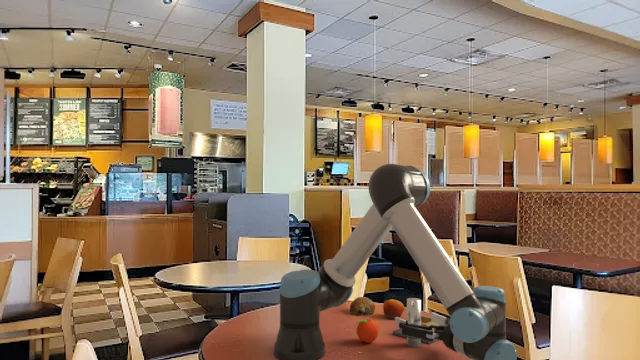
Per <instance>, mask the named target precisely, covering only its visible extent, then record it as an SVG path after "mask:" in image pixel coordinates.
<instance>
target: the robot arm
mask: <svg viewBox="0 0 640 360" xmlns="http://www.w3.org/2000/svg"><path fill="white" fill-rule="evenodd" d="M367 187H368V194H369V198H370V200H371V202H372V203H373V204H372V205H371V206H370V207H369V209H368V210H367V211H366V213H365V215H364V216H363V217H362V218H361V220H360V221H359V222H358V224H357V225H356V226H355V228H354V230H352V232H351V233H350V235H349V236H348V238H347V239H346V240H345V241H344V243H343V244H342V246H341V247H340V249H339V250H338V251H337V253H336V254H335V256H334V257H332V258H330V259H329V258H328V259H326V260H325V261H324V262H323V263H322V264H321V266H320V268H318V271H316V270H313V269H300V270H294V271H290V272H288V273H285V274H284V275H283V276H282V277H281V280H280V287H279V300H280V301H279V329H278V332H277V335H276V338H275V339H276V340H275V342H274V345H273V356H274V357H275V358H277V359H279V360H319V359H321V358H323V357H324V356H325V354H326V344H325V342H324V338H323V333H322V331H321V328H320V327H321V325H320V319H321V318H320V312H323V311H326V310H328V309H332V308H336V307H339V306H341V305H343V304H345V303H346V302H347V301H348V300H349V299H350V298H351V296H352V295H353V292H354V288H353V287H354V286H355V284H356V275H357V274H358V272H359V271H360V270H361V268H362V267H363V266H364V264H365V263H366V262H367V261H368V260H369V258H370V257H371V256H372V254H374V252H375V250H376V249H377V248H378V246H379V245H380V244H381V242H382V241H383V240H384V239H385V238H386V236H387V235H388V234H389V232H390V231H391V229H392V228H393V230H394V231H395V232H396V234H397V236H398V237H399V239H400V240H401V242H402V244H403V245H404V246H405V249H407V251H408V253H409V254H410V256H411V258H412V259H413V261H414V262H415V264H416V265H417V267H418V268H419V270H420V272H421V273H422V275H423V276H424V278H425V279H426V282H428V284H429V285H430V287H431V288H432V290H433V291H434V293H435V294H436V296H437V298H438V300H439V301H440V302H441V304H442V306H443V307H444V308H445V310H446V312H447V313H448V315H449V317H446V316H444V315H440V314H439V313H435V312H430V317H431V321H432V322H434V323H437V324H439V326H436V325H430V326H423V325H415V324H410V322H408V321H406V320H404V319H403V318H401V317H395V319H394V322H395V325H394V326H395V327H397V329H402V334H403V335H408V336H412V337H417V338H421V339H425V340H428V341H431V342H432V341H433V338H434V339H438V341H442V342H443V344H444V346H445V347H446V348H447V349H449V350H451V351H453V352H455V353H458V354H460V355H462V356H464V357H467V358H468V359H469V360H517V358H518V351H517V350H516V347H515V345H514V344H513V343H512V342H511V341H509V340H508V339H507V331H506V330H507V329H506V327H507V325H506V324H507V323H506V322H507V321H506V318H507V315H506V314H507V311H506V310H507V309H506V307H507V302H506V293H505V290H504V289H503V288H500V287H498V286H497V287H496V286H492V285H491V286H490V285H481V286H480V285H479V286H475V287H474V289H473V290H472V288H471V287H470V285H469V284H468V282H467V280H466V279H465V278H464V276H463V275H462V273H461V272H460V271H459V269H458V268H457V266H456V265H455V264H454V262H453V260H452V259H451V258H450V256H449V254H448V253H447V251H446V250H445V248H444V247H443V246H442V244H441V242H439V239H438V238H437V237H436V235H435V233H433V231H432V229H431V228H430V227H429V224H427V221H426V220H425V219H424V218H423V216H422V215H421V213H420V212H419V210H418V209H417V207H419V206H421V205H423V204H424V203H425V202H426V201H427V200H428V199H429V197H430V194H431V183H430V180H429V177H428V175H427V174H426V173H425V172H424V171H423V170H422V169H420V168H417V167H416V166H413V165H402V164H395V163H387V164H383V165H380V166H379V167H377V168H376V169H375V170H374V171H373V172H372V173H371V175H370V177H369V181H368V186H367ZM432 328H435V329H434V333H433V332H432Z"/></svg>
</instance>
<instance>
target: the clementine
mask: <svg viewBox="0 0 640 360" xmlns="http://www.w3.org/2000/svg"><path fill="white" fill-rule="evenodd" d="M356 326H357V327H356ZM355 327H356V335H357V338H359V340H360V341H362V342H363V343H365V344H366V343H372V342H374V341H375V340H376V339H377V338H378V335H379V328H378V325H377V324H376V322H374V321H373V320H371V319H362V320H359V321H358V322H356V323H355V325H354V327H353V328H355Z"/></svg>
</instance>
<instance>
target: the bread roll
mask: <svg viewBox="0 0 640 360" xmlns="http://www.w3.org/2000/svg"><path fill="white" fill-rule="evenodd" d="M375 310H376V306H375V303H374V302H373V300H372V299H370V298H369V297H366V296H358V297H356V298H355V299H353V301H351V302H350V306H349V312H350V313H351V314H352V315H355V316H361V317H362V316H370V315H373V314H375Z"/></svg>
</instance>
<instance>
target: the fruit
mask: <svg viewBox="0 0 640 360" xmlns="http://www.w3.org/2000/svg"><path fill="white" fill-rule="evenodd" d="M382 308H383V314H384V317H385V318H386V319H387V318H392V319H394V320H395V317H399V318H401V316H402V315H403V313H404V311H405V306H404V304H403V302H401V301H399V300H397V299H393V298H390V299H388V300H385V301H384V302H383V305H382Z"/></svg>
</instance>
